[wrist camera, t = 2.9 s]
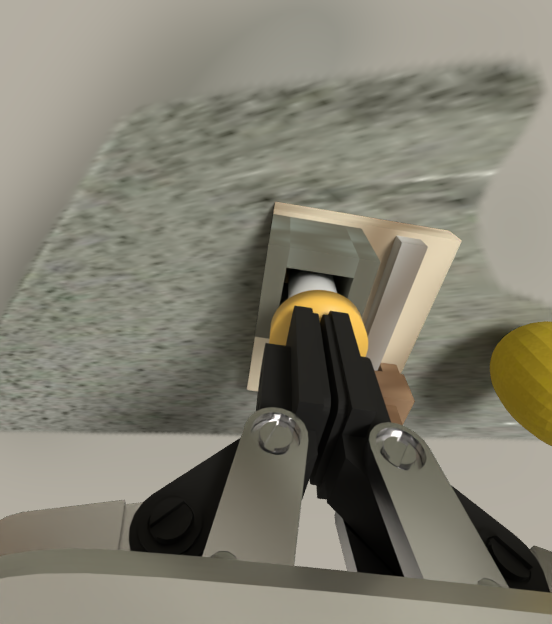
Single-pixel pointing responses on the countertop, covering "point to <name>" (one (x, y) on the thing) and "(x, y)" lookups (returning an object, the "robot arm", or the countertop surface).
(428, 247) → the rail base
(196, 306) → the countertop surface
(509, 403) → the lemon
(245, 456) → the robot arm
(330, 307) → the button
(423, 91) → the countertop surface
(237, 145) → the countertop surface
